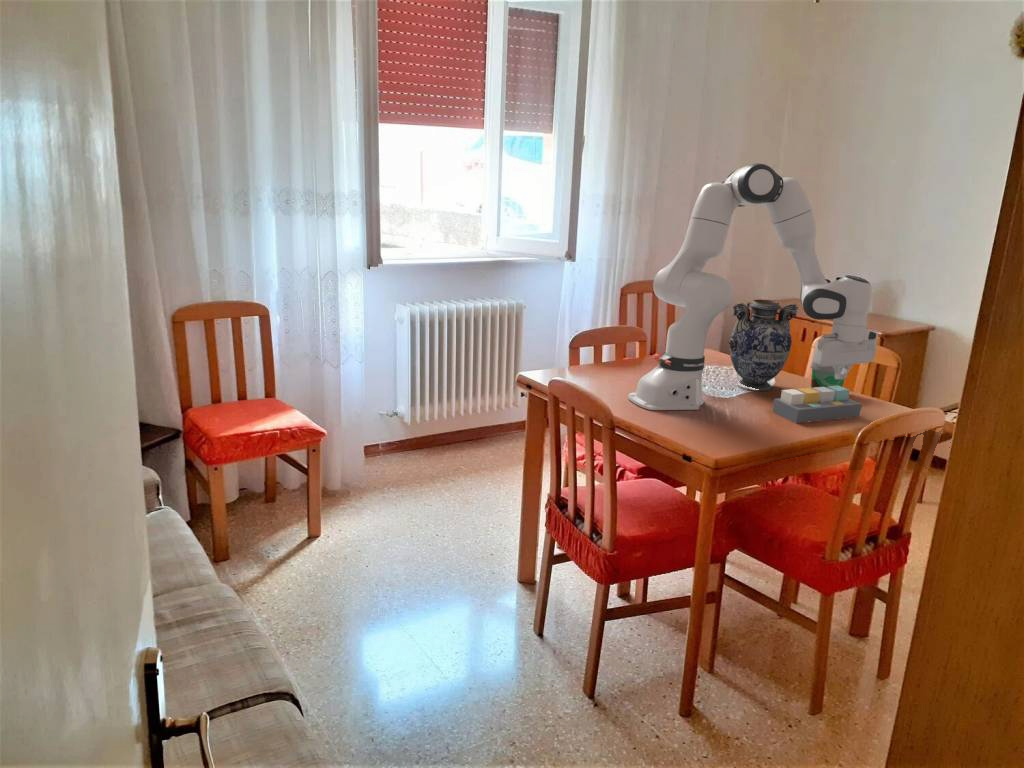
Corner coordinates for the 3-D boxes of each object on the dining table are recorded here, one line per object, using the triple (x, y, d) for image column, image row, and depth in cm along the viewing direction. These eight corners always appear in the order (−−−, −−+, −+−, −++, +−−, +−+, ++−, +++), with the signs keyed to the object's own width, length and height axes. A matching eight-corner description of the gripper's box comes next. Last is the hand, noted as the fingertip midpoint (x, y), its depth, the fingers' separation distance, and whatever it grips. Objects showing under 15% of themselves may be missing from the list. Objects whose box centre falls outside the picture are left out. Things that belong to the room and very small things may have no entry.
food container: (816, 397, 234) (822, 366, 231) (806, 391, 240) (811, 361, 237) (852, 397, 236) (858, 366, 233) (841, 391, 242) (847, 361, 239)
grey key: (821, 403, 216) (823, 392, 215) (810, 398, 220) (812, 387, 219) (833, 402, 218) (835, 391, 217) (822, 397, 222) (824, 386, 221)
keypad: (796, 423, 209) (798, 409, 208) (772, 411, 218) (774, 398, 217) (859, 416, 217) (862, 403, 216) (834, 406, 226) (836, 392, 225)
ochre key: (805, 404, 214) (807, 393, 213) (795, 400, 218) (797, 388, 217) (818, 403, 216) (820, 392, 215) (807, 399, 220) (809, 387, 219)
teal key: (835, 402, 218) (838, 390, 217) (825, 397, 222) (826, 386, 221) (847, 401, 220) (849, 389, 219) (836, 396, 224) (838, 385, 223)
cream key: (790, 406, 212) (792, 394, 211) (780, 401, 216) (781, 390, 215) (802, 405, 214) (804, 393, 213) (792, 400, 218) (794, 389, 217)
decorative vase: (734, 394, 232) (746, 305, 225) (711, 378, 250) (722, 295, 242) (798, 395, 235) (813, 307, 227) (771, 379, 253) (784, 297, 245)
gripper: (828, 337, 209) (820, 384, 213) (883, 333, 216) (874, 379, 220) (811, 332, 215) (804, 378, 219) (866, 328, 222) (858, 373, 226)
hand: (840, 378), depth 220 cm, fingers closed
